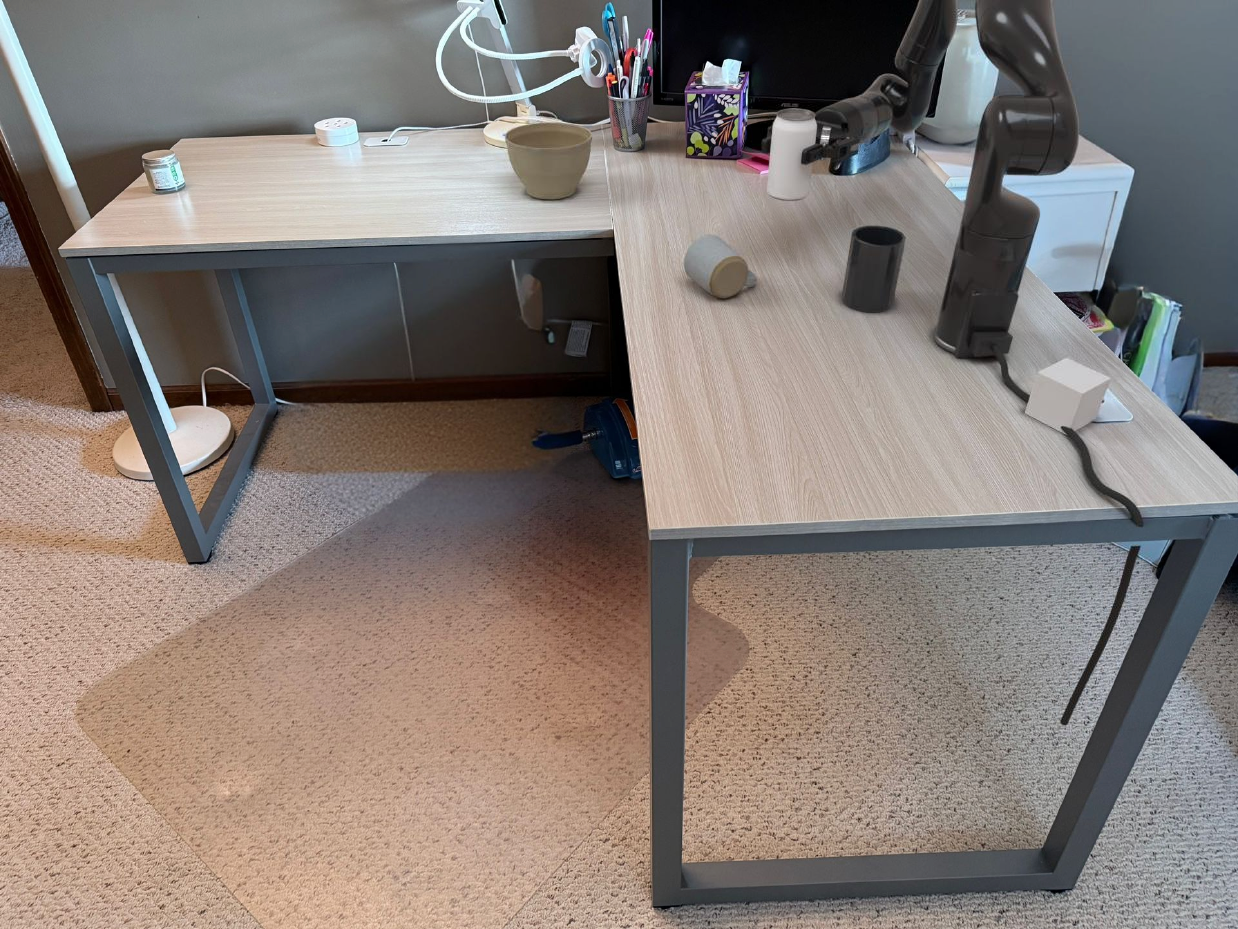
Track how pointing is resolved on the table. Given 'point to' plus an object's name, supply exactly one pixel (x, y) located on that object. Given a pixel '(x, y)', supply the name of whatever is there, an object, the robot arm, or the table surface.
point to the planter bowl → (549, 157)
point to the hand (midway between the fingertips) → (783, 152)
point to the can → (791, 154)
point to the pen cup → (873, 268)
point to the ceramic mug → (717, 267)
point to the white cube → (1067, 395)
